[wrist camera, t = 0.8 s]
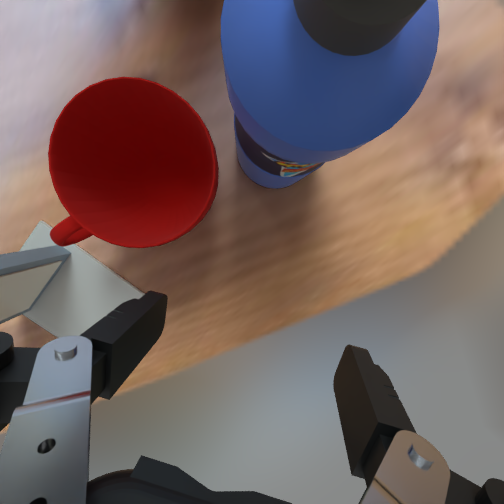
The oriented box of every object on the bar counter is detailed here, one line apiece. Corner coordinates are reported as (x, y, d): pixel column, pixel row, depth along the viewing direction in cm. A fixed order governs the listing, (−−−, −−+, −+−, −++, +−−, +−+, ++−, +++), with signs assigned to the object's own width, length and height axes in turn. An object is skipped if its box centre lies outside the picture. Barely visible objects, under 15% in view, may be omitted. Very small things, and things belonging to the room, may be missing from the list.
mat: (-7, 292, 31) (-10, 293, 31) (42, 220, 30) (40, 220, 29) (98, 361, 33) (96, 363, 32) (148, 296, 32) (147, 297, 31)
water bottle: (323, 177, 30) (684, 13, 5) (247, 199, 30) (265, 133, 6) (305, 95, 29) (676, -625, 4) (225, 118, 29) (116, -454, 4)
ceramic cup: (63, 190, 29) (-28, 179, 20) (178, 98, 28) (143, 36, 19) (137, 277, 31) (87, 307, 21) (247, 193, 30) (249, 184, 20)
